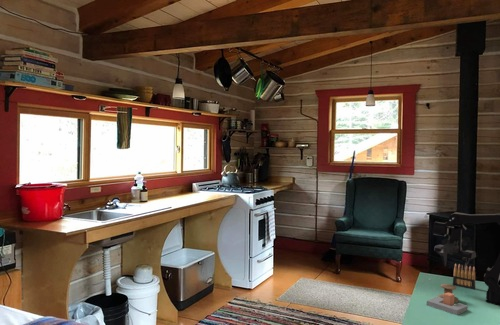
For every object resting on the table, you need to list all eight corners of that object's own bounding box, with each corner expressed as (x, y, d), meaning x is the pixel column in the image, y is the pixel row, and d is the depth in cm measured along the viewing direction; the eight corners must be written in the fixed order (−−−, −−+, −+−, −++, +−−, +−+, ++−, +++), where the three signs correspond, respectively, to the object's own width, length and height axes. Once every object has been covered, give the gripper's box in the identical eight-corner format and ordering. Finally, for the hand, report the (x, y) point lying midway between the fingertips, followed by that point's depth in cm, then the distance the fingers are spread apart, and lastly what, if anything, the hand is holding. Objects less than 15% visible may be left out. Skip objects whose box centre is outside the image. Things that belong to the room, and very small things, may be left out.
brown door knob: (461, 300, 199) (462, 287, 198) (452, 304, 193) (453, 290, 193) (443, 295, 206) (444, 282, 205) (434, 298, 200) (434, 285, 200)
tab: (453, 307, 190) (454, 294, 189) (449, 308, 187) (450, 295, 187) (447, 305, 192) (448, 292, 192) (443, 306, 190) (443, 293, 189)
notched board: (467, 310, 186) (467, 305, 186) (456, 314, 180) (457, 310, 180) (437, 300, 197) (437, 296, 197) (426, 304, 191) (426, 300, 191)
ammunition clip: (452, 285, 222) (453, 263, 222) (453, 284, 224) (454, 262, 224) (474, 289, 216) (475, 267, 215) (475, 288, 217) (476, 266, 217)
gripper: (429, 235, 210) (428, 266, 211) (466, 242, 195) (465, 275, 196) (440, 233, 217) (439, 263, 217) (477, 240, 202) (475, 271, 203)
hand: (453, 268), depth 208 cm, fingers open, 9 cm apart
